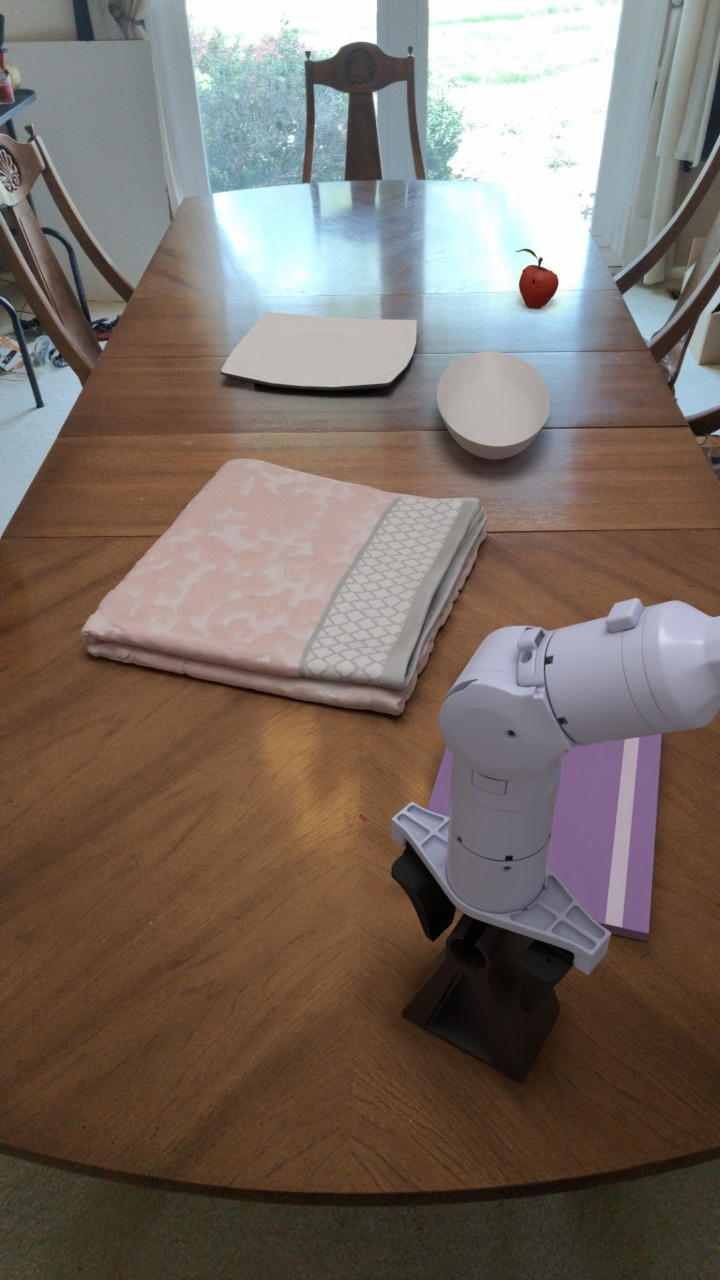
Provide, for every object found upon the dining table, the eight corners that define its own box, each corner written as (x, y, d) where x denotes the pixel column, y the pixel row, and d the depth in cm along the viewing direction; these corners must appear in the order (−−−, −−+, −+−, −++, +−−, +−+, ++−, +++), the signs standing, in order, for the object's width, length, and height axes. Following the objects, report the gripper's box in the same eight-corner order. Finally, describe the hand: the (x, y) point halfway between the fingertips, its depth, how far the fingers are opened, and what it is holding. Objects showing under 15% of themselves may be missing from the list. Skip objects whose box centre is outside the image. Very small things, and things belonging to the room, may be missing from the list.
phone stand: (560, 1012, 67) (581, 902, 59) (521, 1085, 63) (539, 976, 55) (444, 951, 70) (450, 840, 63) (400, 1015, 67) (402, 905, 59)
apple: (549, 298, 178) (555, 241, 171) (560, 312, 172) (566, 253, 166) (508, 301, 177) (512, 244, 171) (517, 314, 172) (522, 255, 165)
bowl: (436, 390, 147) (438, 350, 143) (537, 391, 146) (541, 351, 142) (433, 488, 124) (435, 444, 120) (554, 491, 122) (559, 447, 119)
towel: (406, 730, 89) (406, 681, 85) (77, 659, 98) (65, 613, 94) (491, 531, 115) (494, 488, 112) (227, 489, 124) (222, 448, 121)
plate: (262, 324, 170) (261, 309, 168) (425, 333, 165) (426, 317, 164) (210, 392, 148) (208, 375, 146) (397, 404, 143) (397, 387, 142)
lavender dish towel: (646, 942, 71) (649, 933, 70) (404, 888, 75) (404, 880, 74) (663, 694, 92) (665, 686, 91) (473, 663, 96) (474, 655, 95)
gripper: (653, 848, 53) (617, 991, 61) (444, 725, 61) (437, 866, 69) (581, 930, 49) (552, 1071, 57) (367, 787, 57) (369, 929, 65)
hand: (485, 964), depth 63 cm, fingers open, 7 cm apart
